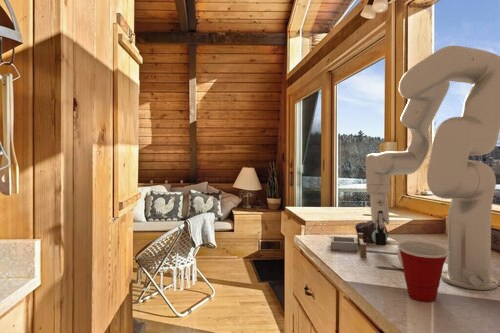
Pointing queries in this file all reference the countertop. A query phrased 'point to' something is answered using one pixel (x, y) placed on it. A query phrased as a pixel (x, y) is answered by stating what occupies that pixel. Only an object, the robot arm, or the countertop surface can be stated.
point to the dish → (344, 243)
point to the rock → (367, 230)
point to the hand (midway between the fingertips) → (379, 242)
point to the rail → (361, 245)
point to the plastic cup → (422, 268)
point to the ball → (374, 236)
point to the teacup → (398, 263)
